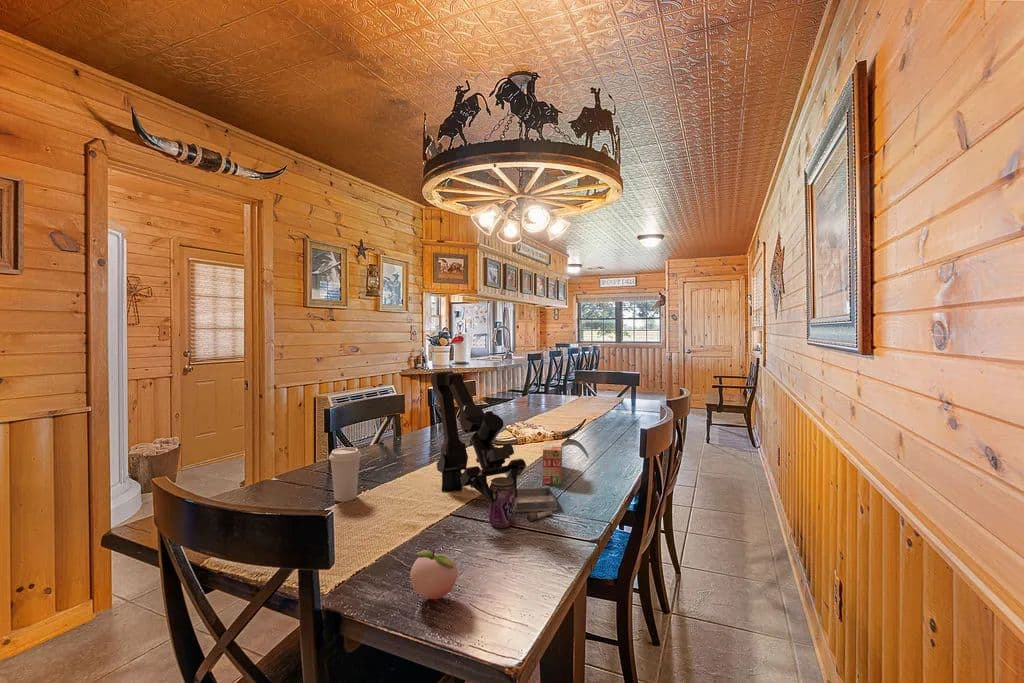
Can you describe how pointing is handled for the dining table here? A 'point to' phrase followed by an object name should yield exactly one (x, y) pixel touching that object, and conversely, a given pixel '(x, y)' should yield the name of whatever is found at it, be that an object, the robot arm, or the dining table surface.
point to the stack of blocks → (552, 462)
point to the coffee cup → (345, 473)
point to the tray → (535, 500)
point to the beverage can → (502, 502)
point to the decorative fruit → (433, 575)
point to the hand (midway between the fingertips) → (504, 500)
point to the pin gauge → (538, 515)
